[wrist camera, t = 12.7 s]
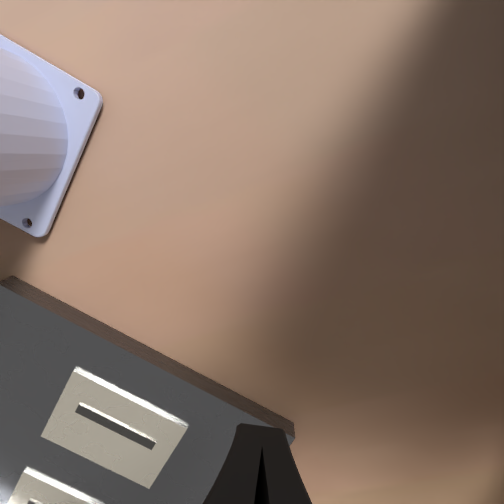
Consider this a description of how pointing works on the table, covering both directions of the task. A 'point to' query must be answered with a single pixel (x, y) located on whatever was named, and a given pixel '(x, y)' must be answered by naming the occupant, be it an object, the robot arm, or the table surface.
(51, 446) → the panel
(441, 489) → the table surface
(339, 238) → the table surface
